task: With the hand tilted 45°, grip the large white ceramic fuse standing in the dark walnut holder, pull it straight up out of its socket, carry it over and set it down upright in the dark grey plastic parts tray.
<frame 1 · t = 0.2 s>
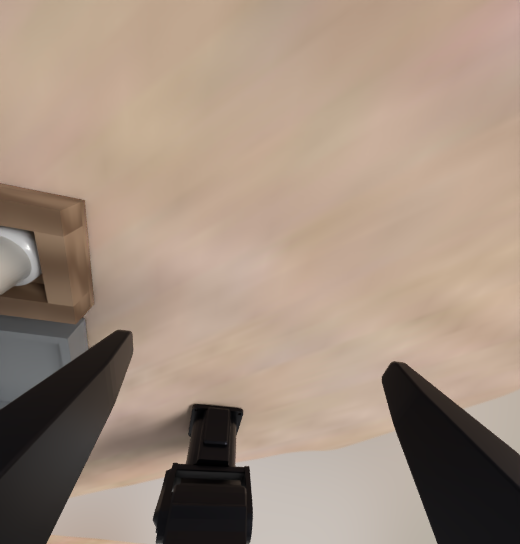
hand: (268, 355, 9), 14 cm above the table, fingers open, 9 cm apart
parts tray: (20, 359, 27), on the table
fuse: (20, 249, 21), point 1 cm above the table, touching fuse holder
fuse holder: (25, 246, 21), on the table
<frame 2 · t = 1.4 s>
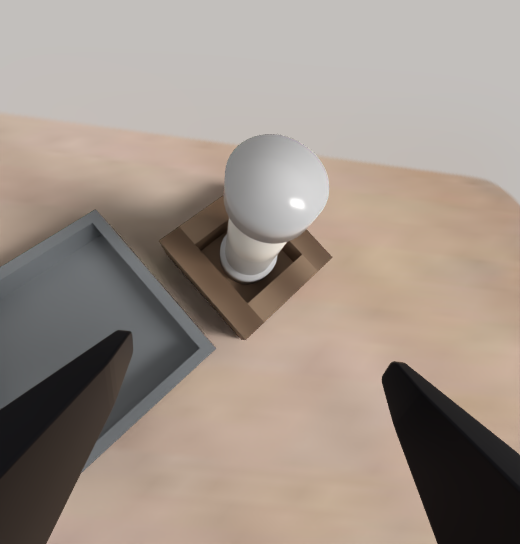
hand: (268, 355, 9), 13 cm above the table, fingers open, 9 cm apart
parts tray: (85, 342, 20), on the table
fuse: (246, 258, 23), point 1 cm above the table, touching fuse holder
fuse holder: (245, 260, 24), on the table
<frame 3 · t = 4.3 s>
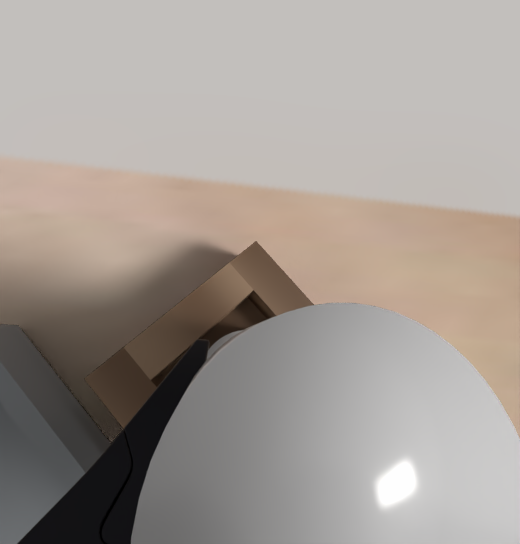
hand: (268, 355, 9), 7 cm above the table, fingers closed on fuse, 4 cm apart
fuse: (243, 375, 14), point 1 cm above the table, touching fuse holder, gripper
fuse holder: (242, 373, 15), on the table
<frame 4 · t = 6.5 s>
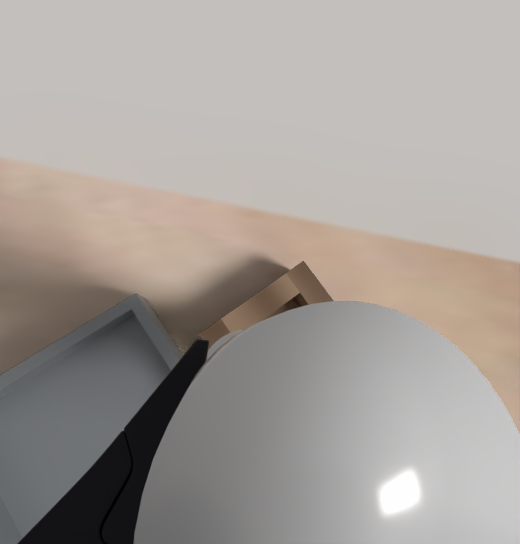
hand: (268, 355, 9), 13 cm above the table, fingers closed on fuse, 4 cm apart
parts tray: (108, 433, 18), on the table
fuse: (243, 374, 14), point 7 cm above the table, touching gripper
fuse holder: (283, 347, 22), on the table
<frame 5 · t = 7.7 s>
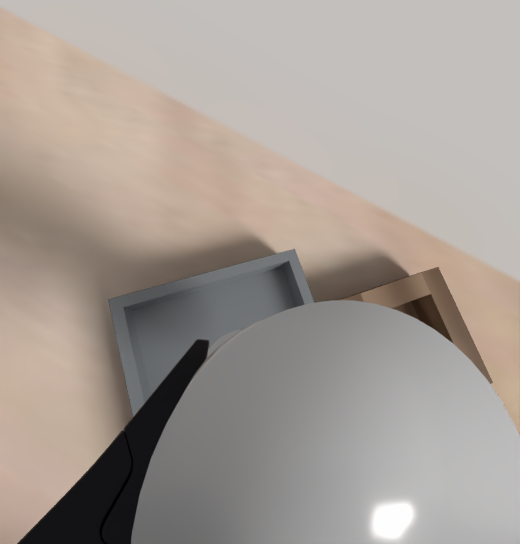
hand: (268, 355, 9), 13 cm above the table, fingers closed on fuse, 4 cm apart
parts tray: (234, 362, 20), on the table
fuse: (243, 374, 14), point 6 cm above the table, touching gripper
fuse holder: (392, 341, 23), on the table
when the fingers open (8 cm above the table, at t = 8.8 s): fuse drops 1 cm, resting on parts tray.
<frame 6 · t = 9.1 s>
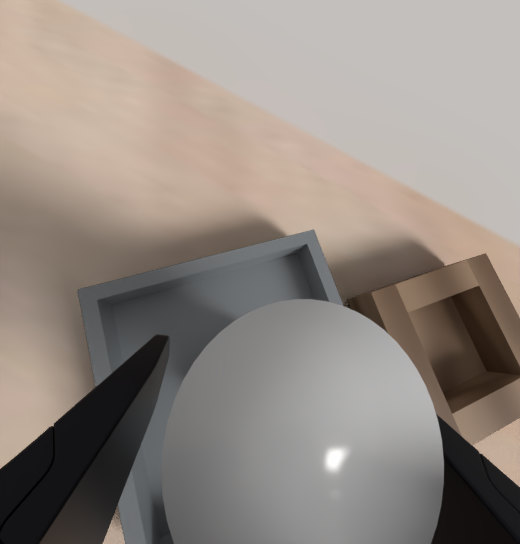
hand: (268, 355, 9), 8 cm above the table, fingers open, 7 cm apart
parts tray: (239, 370, 16), on the table
fuse: (240, 372, 16), point 1 cm above the table, touching parts tray
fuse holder: (429, 343, 19), on the table
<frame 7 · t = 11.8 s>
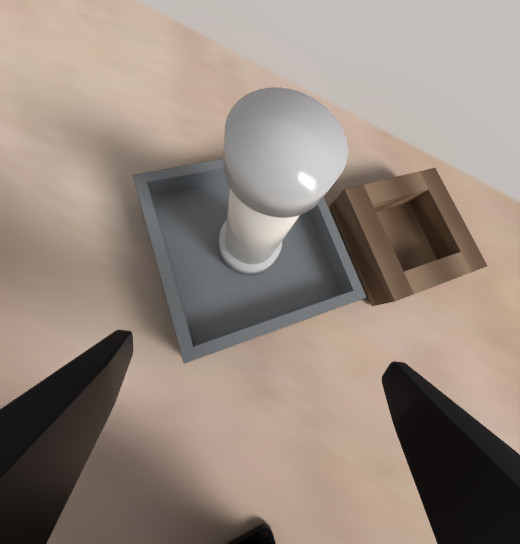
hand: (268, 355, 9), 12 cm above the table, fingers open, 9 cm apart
parts tray: (247, 249, 22), on the table
fuse: (248, 247, 21), point 1 cm above the table, touching parts tray
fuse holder: (393, 240, 25), on the table
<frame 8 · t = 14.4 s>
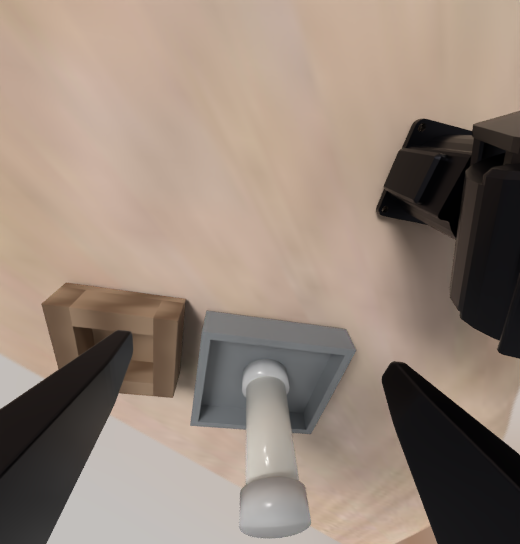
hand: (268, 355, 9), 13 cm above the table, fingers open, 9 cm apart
parts tray: (263, 368, 28), on the table
fuse: (264, 374, 27), point 1 cm above the table, touching parts tray
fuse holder: (130, 333, 25), on the table
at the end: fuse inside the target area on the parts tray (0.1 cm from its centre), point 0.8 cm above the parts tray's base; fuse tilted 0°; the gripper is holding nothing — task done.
